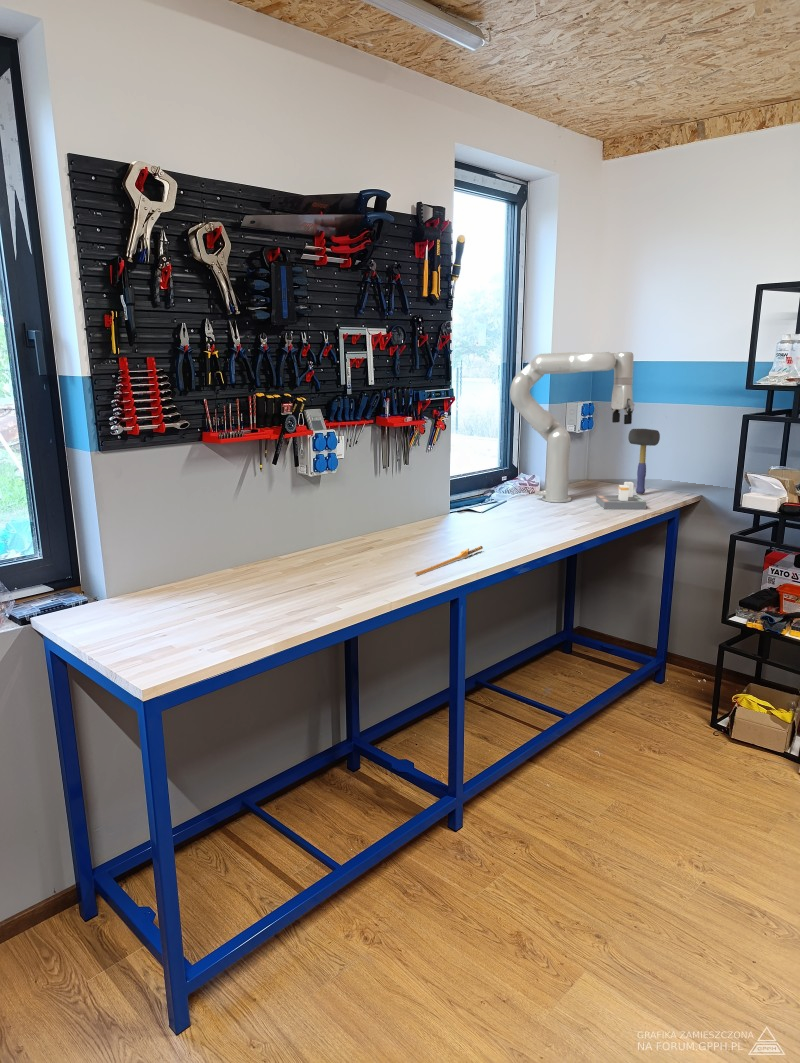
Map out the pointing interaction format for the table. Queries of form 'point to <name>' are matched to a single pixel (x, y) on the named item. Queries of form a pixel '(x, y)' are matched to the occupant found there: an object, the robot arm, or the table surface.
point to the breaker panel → (615, 503)
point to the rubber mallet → (643, 452)
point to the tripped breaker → (623, 492)
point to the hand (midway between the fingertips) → (621, 423)
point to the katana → (450, 560)
